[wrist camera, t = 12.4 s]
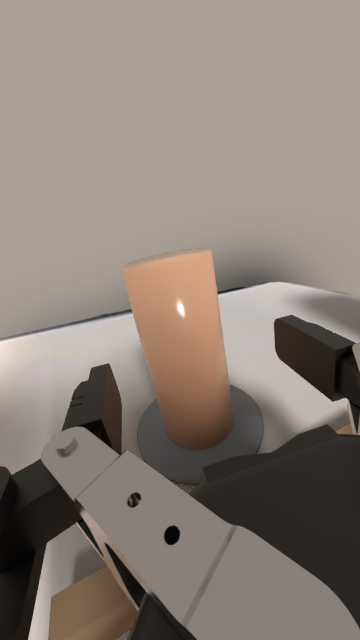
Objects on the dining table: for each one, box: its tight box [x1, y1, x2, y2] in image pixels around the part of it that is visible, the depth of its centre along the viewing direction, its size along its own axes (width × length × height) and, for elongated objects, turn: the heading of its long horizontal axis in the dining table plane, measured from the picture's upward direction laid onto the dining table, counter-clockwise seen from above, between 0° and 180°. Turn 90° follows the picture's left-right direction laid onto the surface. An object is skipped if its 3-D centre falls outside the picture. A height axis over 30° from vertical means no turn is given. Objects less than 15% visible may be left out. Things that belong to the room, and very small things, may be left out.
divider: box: [48, 423, 353, 640], centre depth 13 cm, size 20×2×2 cm, turn 113°
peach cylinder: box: [121, 248, 234, 450], centre depth 18 cm, size 6×6×13 cm
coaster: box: [137, 385, 263, 484], centre depth 20 cm, size 10×10×1 cm
